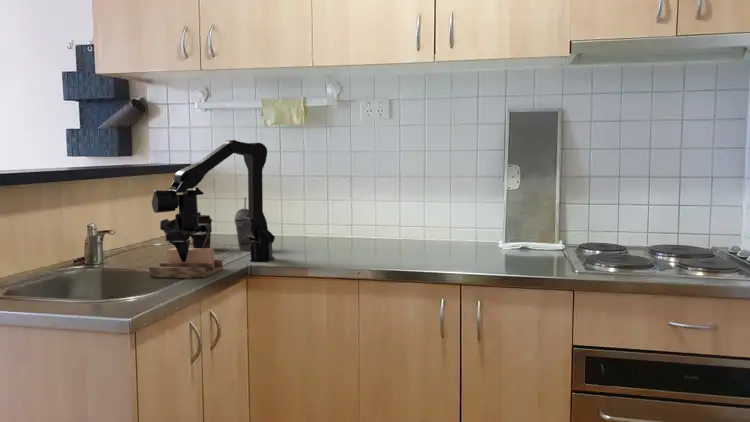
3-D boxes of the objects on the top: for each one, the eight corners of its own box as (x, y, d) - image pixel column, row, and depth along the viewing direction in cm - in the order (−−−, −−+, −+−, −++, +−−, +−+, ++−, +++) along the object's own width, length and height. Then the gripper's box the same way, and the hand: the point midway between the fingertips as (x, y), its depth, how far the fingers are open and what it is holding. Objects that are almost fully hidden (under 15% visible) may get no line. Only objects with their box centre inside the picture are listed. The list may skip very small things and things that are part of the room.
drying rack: (222, 269, 192) (222, 259, 192) (204, 278, 180) (203, 268, 180) (171, 268, 196) (170, 259, 196) (149, 276, 184) (148, 267, 183)
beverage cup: (246, 247, 232) (243, 195, 229) (259, 249, 227) (257, 196, 225) (231, 250, 226) (228, 197, 223) (245, 252, 221) (242, 198, 219)
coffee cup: (192, 252, 224) (190, 217, 223) (187, 249, 231) (185, 215, 230) (216, 249, 229) (214, 215, 227) (209, 246, 236) (208, 213, 234)
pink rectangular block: (214, 267, 191) (213, 248, 190) (209, 269, 188) (208, 250, 187) (174, 266, 194) (173, 247, 193) (168, 268, 190) (167, 249, 190)
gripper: (180, 206, 199) (182, 253, 201) (147, 213, 181) (151, 264, 183) (211, 206, 197) (213, 253, 199) (181, 213, 179) (185, 265, 181)
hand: (191, 259), depth 190 cm, fingers open, 9 cm apart
